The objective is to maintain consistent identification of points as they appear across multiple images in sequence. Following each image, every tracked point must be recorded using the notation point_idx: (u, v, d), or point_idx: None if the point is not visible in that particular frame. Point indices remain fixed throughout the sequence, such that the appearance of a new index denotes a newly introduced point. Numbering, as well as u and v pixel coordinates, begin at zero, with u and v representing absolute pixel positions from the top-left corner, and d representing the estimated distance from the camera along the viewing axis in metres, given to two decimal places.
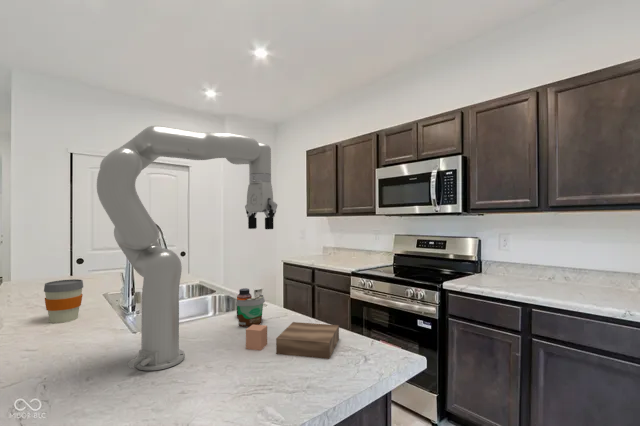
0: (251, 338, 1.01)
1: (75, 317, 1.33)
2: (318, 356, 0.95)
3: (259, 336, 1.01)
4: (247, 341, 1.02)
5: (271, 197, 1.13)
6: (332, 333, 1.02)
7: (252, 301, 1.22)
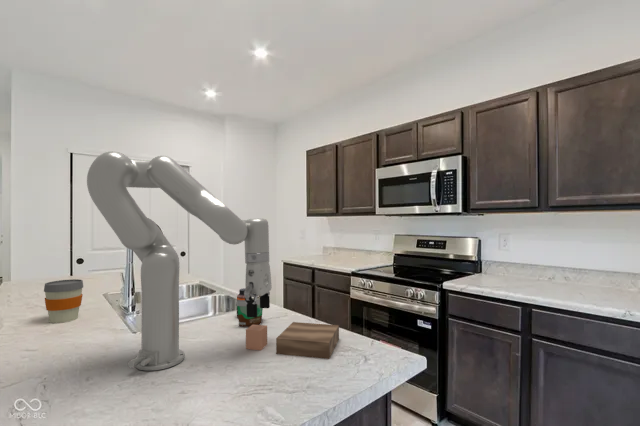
0: (251, 338, 1.01)
1: (75, 317, 1.33)
2: (318, 356, 0.95)
3: (259, 336, 1.01)
4: (247, 341, 1.02)
5: None
6: (332, 333, 1.02)
7: None
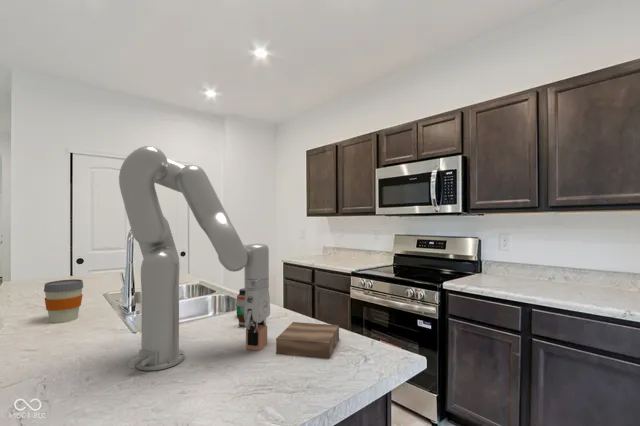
0: None
1: (75, 317, 1.33)
2: (317, 356, 0.95)
3: (259, 336, 1.01)
4: (247, 341, 1.02)
5: None
6: (332, 333, 1.02)
7: None
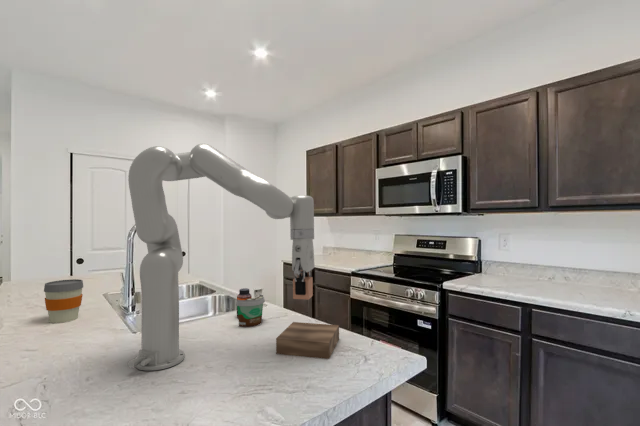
0: None
1: (75, 317, 1.33)
2: (317, 356, 0.95)
3: (307, 286, 1.01)
4: (294, 291, 1.02)
5: None
6: (332, 333, 1.02)
7: (252, 301, 1.22)
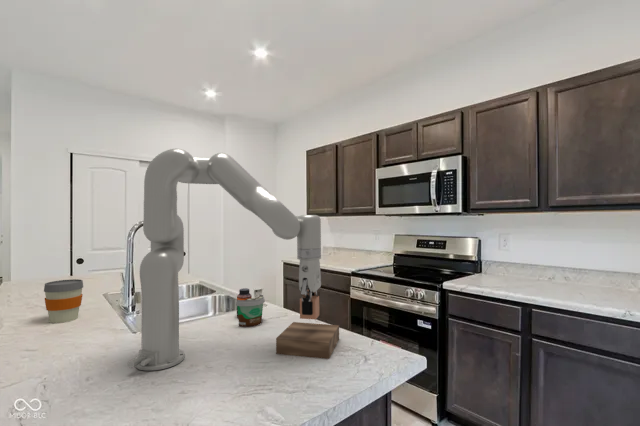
0: None
1: (75, 317, 1.33)
2: (317, 356, 0.95)
3: (313, 305, 1.01)
4: (301, 310, 1.02)
5: None
6: (332, 333, 1.02)
7: (252, 301, 1.22)
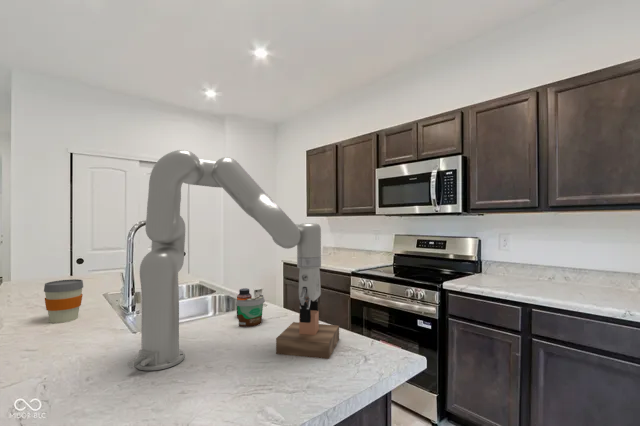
0: (305, 323, 1.02)
1: (75, 317, 1.33)
2: (317, 357, 0.95)
3: (313, 321, 1.01)
4: (301, 326, 1.02)
5: None
6: (332, 333, 1.02)
7: (252, 301, 1.22)
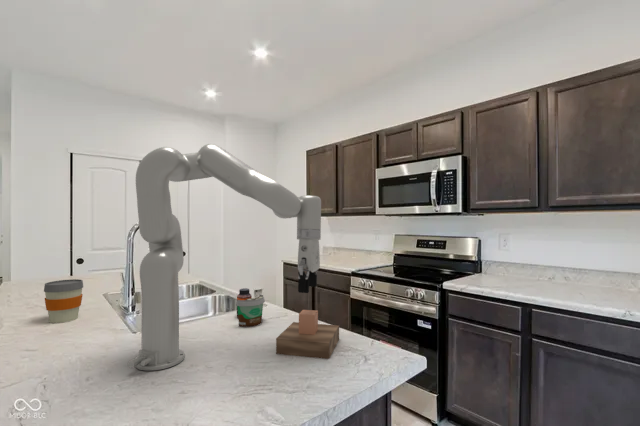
0: (304, 322, 1.02)
1: (75, 317, 1.33)
2: (317, 357, 0.95)
3: (313, 321, 1.01)
4: (300, 325, 1.02)
5: None
6: (332, 333, 1.02)
7: (252, 301, 1.22)
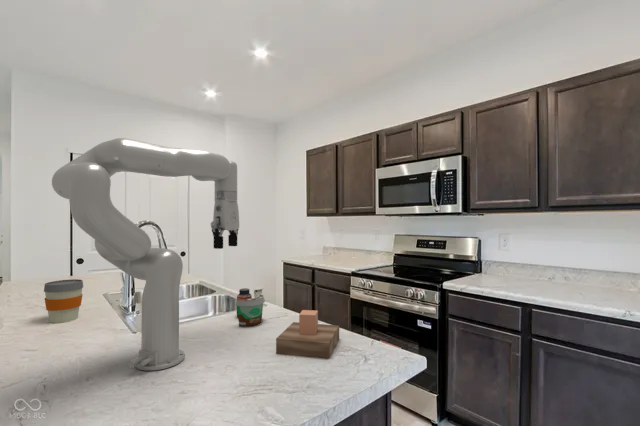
0: (305, 323, 1.01)
1: (75, 317, 1.33)
2: (317, 357, 0.95)
3: (313, 321, 1.01)
4: (301, 326, 1.02)
5: None
6: (332, 333, 1.02)
7: (252, 301, 1.22)
